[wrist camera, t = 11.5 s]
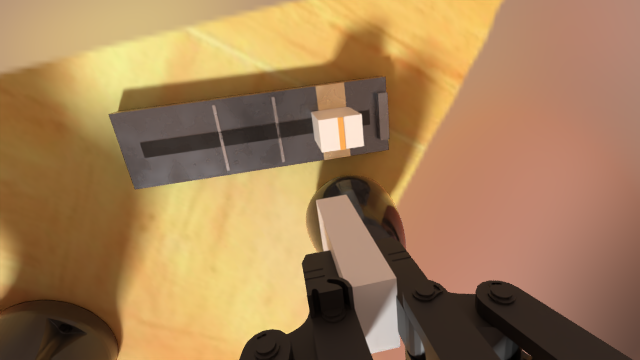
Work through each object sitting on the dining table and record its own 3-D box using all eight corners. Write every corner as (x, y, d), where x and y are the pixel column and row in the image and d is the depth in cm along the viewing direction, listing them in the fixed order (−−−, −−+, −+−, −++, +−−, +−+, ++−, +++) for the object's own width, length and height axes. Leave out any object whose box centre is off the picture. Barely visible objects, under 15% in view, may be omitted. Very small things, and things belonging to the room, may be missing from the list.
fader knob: (314, 139, 35) (322, 153, 30) (311, 111, 34) (318, 120, 29) (350, 134, 35) (364, 146, 30) (348, 106, 34) (361, 114, 29)
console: (141, 182, 36) (131, 193, 33) (117, 111, 33) (103, 115, 30) (383, 145, 39) (391, 151, 36) (379, 76, 36) (388, 77, 33)
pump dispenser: (299, 167, 38) (316, 229, 24) (384, 162, 39) (447, 218, 25) (302, 243, 42) (318, 335, 27) (380, 236, 43) (433, 321, 29)
